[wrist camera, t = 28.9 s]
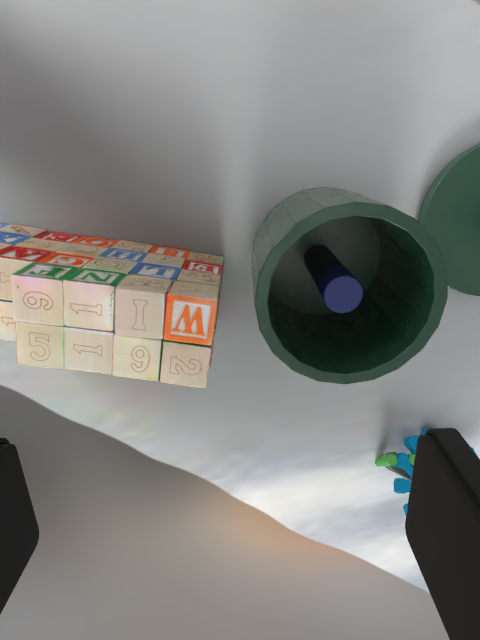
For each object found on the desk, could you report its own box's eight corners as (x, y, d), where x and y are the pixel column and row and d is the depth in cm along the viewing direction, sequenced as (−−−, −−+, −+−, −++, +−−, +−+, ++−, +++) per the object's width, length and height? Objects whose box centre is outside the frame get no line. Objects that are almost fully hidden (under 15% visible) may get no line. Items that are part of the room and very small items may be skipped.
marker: (297, 259, 36) (315, 296, 27) (318, 237, 35) (344, 267, 26) (317, 278, 37) (342, 321, 27) (338, 257, 36) (371, 293, 27)
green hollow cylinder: (224, 260, 37) (216, 304, 26) (323, 155, 34) (360, 156, 23) (316, 343, 40) (343, 414, 29) (414, 254, 36) (486, 297, 26)
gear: (502, 456, 42) (485, 561, 38) (460, 460, 47) (442, 553, 43) (405, 404, 42) (377, 504, 37) (374, 414, 47) (347, 502, 43)
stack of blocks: (-20, 287, 38) (-133, 346, 26) (-25, 217, 36) (-153, 248, 24) (217, 321, 39) (206, 391, 27) (226, 255, 37) (219, 301, 25)
